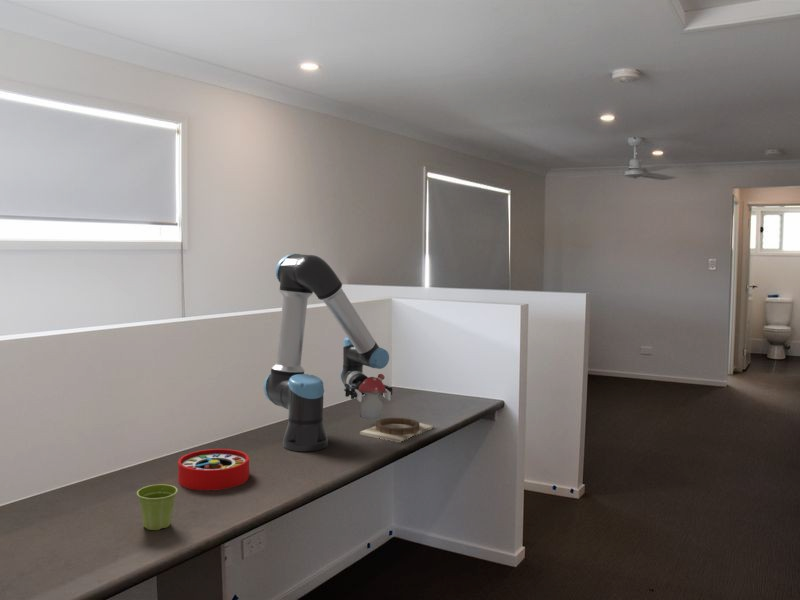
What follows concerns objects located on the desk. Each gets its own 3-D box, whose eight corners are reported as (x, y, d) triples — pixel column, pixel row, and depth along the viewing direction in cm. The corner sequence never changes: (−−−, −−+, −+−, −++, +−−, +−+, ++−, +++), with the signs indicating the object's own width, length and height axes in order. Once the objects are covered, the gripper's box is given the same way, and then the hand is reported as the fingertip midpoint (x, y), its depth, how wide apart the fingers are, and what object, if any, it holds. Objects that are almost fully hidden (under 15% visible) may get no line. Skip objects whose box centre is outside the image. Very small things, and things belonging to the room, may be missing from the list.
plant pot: (182, 518, 176) (182, 484, 175) (171, 534, 166) (171, 498, 166) (144, 517, 175) (144, 483, 175) (131, 533, 166) (131, 497, 165)
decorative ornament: (385, 415, 243) (386, 372, 242) (384, 420, 236) (385, 376, 235) (358, 414, 243) (359, 371, 242) (356, 419, 237) (357, 375, 235)
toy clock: (261, 461, 203) (196, 475, 190) (261, 481, 204) (196, 496, 191) (229, 445, 218) (166, 456, 205) (229, 463, 219) (166, 476, 206)
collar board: (399, 442, 245) (399, 434, 244) (359, 434, 254) (360, 426, 253) (433, 428, 265) (433, 420, 265) (395, 420, 274) (395, 413, 274)
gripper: (387, 392, 260) (406, 406, 239) (328, 394, 253) (342, 409, 232) (388, 372, 259) (406, 384, 238) (329, 374, 253) (343, 387, 231)
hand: (375, 397), depth 235 cm, fingers closed on decorative ornament, 9 cm apart
